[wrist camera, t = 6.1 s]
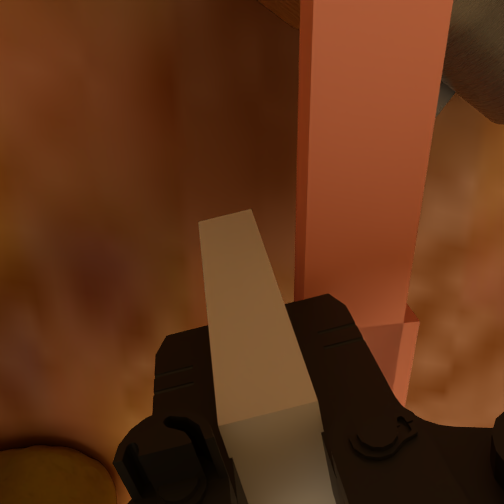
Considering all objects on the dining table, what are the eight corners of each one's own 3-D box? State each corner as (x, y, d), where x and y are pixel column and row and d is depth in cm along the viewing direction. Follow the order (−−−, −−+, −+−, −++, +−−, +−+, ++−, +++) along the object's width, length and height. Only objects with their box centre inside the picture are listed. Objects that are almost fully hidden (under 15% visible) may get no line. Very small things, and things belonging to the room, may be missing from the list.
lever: (261, -487, 6) (281, -604, 5) (523, -468, 7) (601, -573, 5) (269, 420, 14) (278, 461, 13) (389, 406, 14) (409, 445, 13)
